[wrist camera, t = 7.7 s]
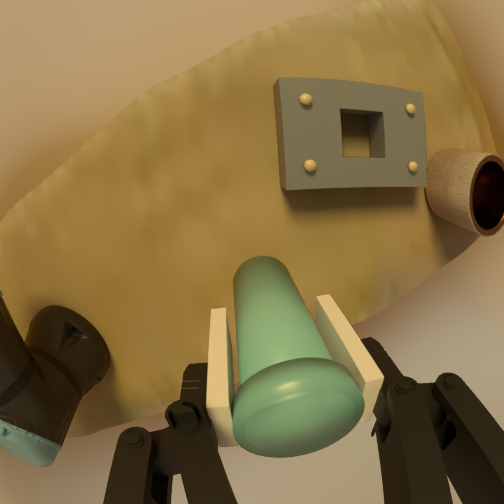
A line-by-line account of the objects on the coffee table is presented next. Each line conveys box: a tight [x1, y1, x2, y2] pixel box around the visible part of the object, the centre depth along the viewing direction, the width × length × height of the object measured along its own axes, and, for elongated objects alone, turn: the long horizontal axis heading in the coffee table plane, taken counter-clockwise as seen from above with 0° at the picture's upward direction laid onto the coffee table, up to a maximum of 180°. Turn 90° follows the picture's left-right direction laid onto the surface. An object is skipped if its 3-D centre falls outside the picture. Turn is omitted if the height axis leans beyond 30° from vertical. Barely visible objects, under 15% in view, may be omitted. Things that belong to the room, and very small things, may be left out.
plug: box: [232, 256, 365, 458], centre depth 14 cm, size 5×5×12 cm
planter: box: [425, 148, 504, 237], centre depth 29 cm, size 11×11×10 cm
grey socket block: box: [273, 78, 427, 190], centre depth 29 cm, size 18×12×5 cm, turn 94°
